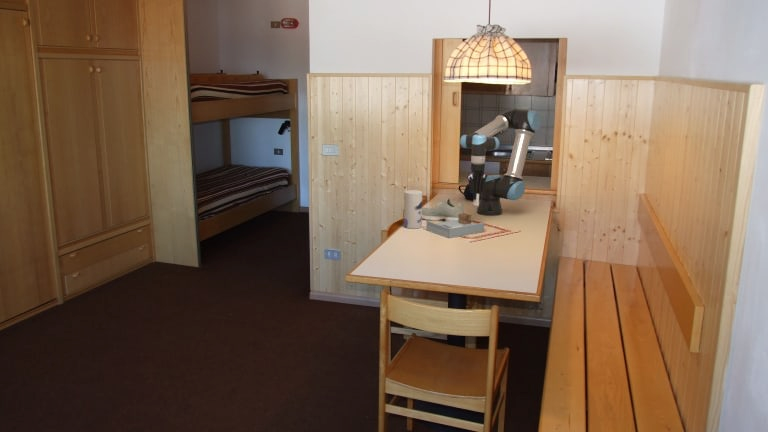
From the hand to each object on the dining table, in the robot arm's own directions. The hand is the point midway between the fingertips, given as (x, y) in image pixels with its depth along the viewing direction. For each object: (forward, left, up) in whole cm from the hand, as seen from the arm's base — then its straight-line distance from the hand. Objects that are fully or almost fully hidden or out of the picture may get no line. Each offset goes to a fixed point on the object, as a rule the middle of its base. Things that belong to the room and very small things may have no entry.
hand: (475, 205), depth 367 cm
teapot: (-48, -55, -13) cm, 74 cm away
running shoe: (+7, -22, -13) cm, 27 cm away
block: (+8, 0, -9) cm, 12 cm away
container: (+30, -19, -13) cm, 37 cm away
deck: (+16, +1, -12) cm, 20 cm away
